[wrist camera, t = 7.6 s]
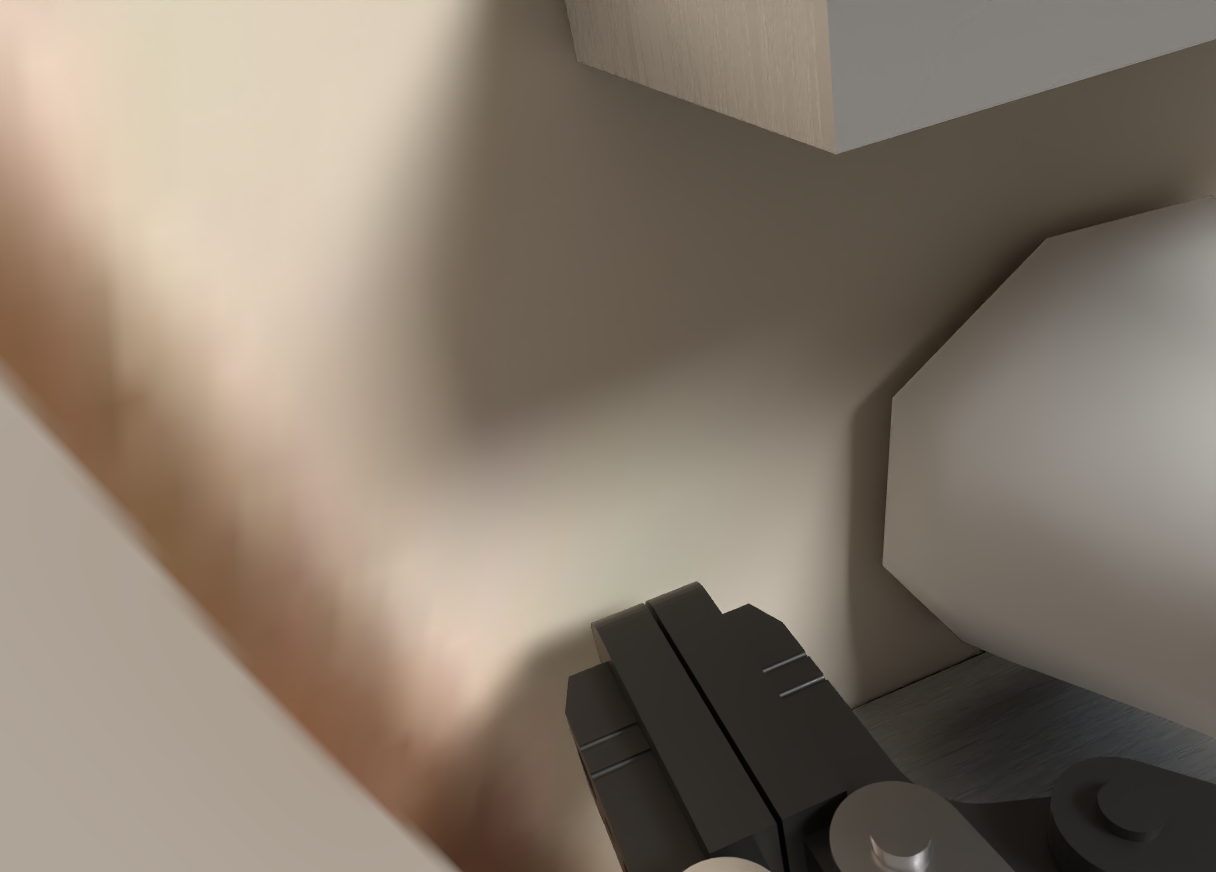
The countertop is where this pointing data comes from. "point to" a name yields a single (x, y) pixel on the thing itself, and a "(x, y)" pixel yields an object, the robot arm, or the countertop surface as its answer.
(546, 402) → the countertop surface
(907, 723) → the vise fixed
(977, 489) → the flask
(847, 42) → the vise jaw sliding
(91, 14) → the countertop surface
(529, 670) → the countertop surface
